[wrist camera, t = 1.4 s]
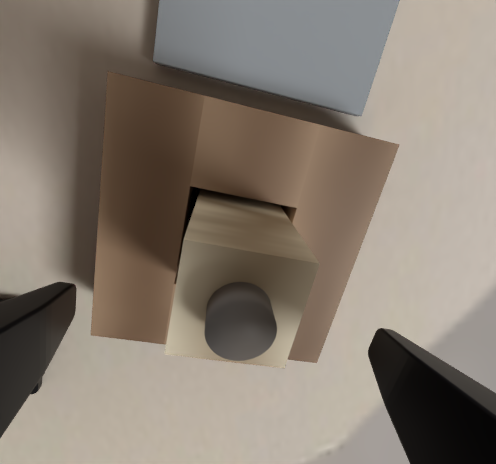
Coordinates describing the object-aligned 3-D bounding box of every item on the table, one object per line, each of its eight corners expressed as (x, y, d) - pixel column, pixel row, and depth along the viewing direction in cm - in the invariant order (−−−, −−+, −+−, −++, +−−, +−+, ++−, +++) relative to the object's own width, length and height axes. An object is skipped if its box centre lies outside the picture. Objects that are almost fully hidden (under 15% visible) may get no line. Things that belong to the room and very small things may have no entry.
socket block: (111, 301, 18) (90, 335, 15) (131, 81, 14) (107, 71, 11) (303, 328, 19) (316, 363, 17) (367, 140, 16) (399, 144, 13)
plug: (190, 251, 17) (158, 379, 8) (202, 183, 16) (178, 254, 7) (257, 263, 18) (290, 393, 9) (275, 198, 16) (331, 280, 8)
